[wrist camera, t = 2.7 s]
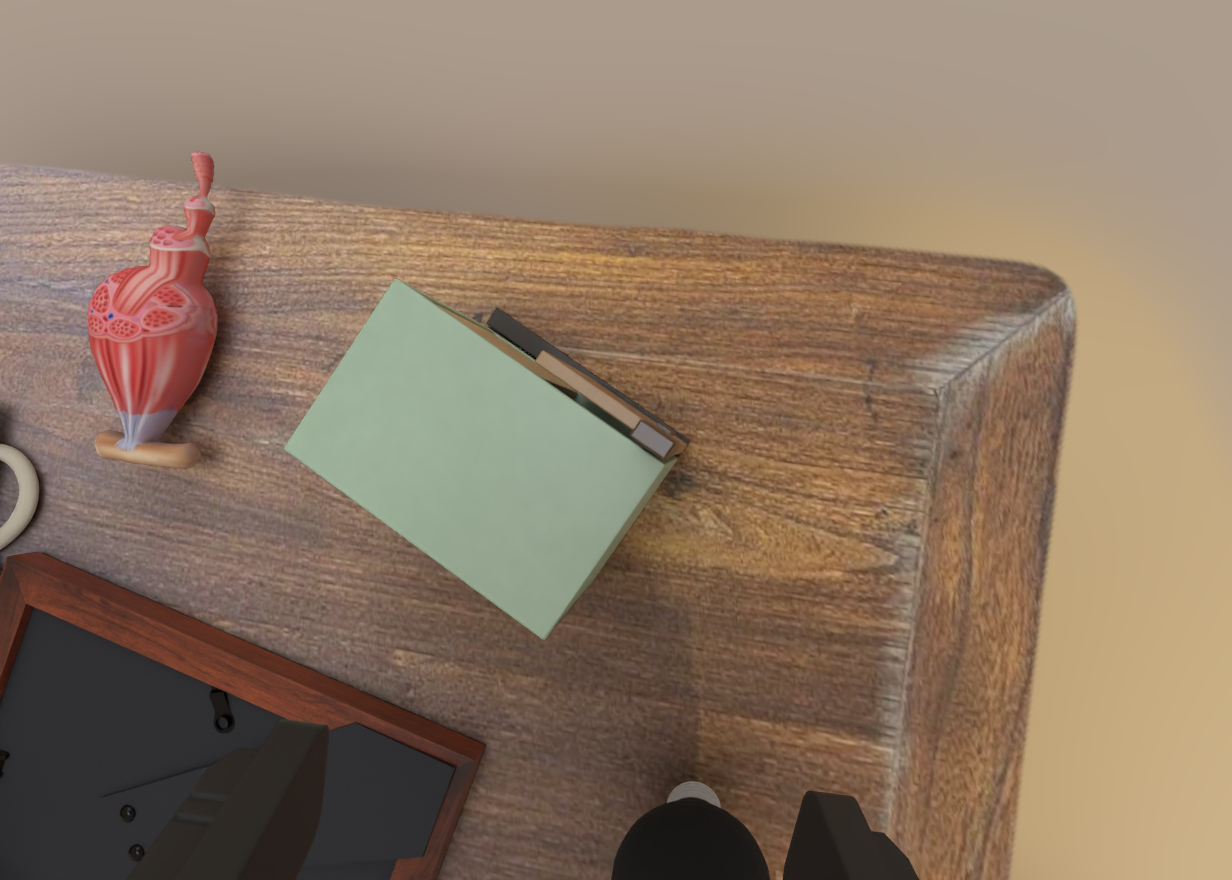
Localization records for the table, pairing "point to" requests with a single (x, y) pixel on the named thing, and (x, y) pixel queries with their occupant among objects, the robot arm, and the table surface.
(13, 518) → the decorative object
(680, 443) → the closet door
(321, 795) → the robot arm
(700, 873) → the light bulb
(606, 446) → the box
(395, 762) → the picture frame
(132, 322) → the anatomical model
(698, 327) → the table surface
